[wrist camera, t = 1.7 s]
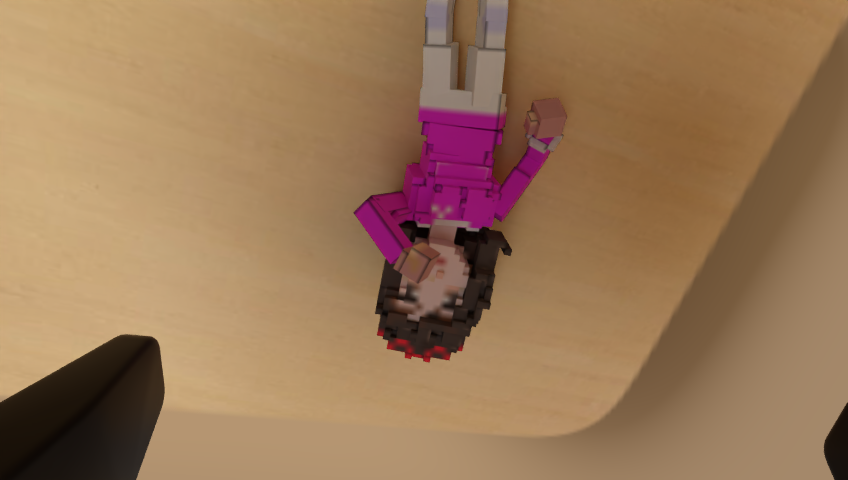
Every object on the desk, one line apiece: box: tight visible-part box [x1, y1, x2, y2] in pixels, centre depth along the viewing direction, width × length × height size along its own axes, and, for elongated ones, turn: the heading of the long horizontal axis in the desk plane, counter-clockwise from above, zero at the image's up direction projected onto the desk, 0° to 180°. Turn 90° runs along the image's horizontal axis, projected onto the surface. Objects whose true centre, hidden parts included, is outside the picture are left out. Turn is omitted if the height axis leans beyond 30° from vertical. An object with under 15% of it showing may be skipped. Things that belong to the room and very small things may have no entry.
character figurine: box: [354, 0, 567, 362], centre depth 16 cm, size 6×5×12 cm
